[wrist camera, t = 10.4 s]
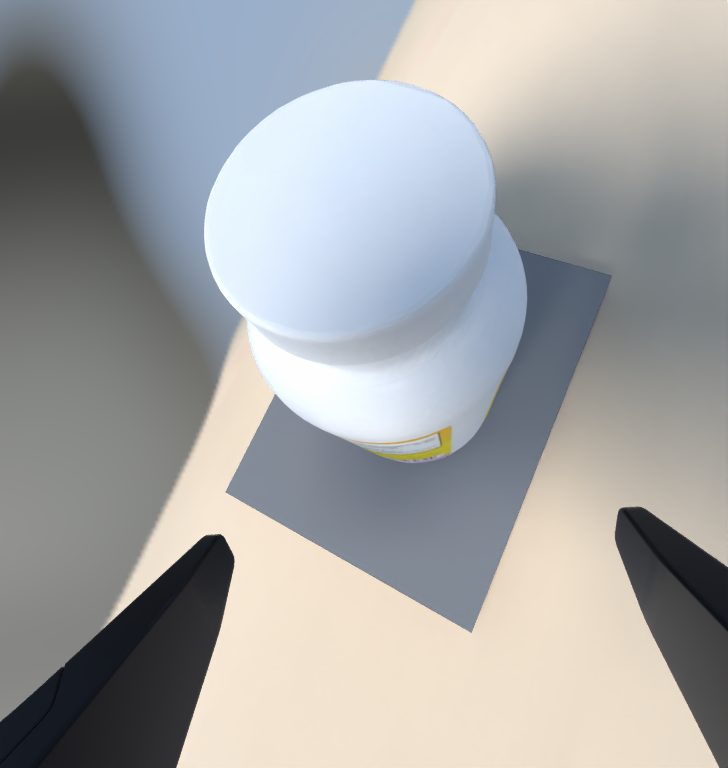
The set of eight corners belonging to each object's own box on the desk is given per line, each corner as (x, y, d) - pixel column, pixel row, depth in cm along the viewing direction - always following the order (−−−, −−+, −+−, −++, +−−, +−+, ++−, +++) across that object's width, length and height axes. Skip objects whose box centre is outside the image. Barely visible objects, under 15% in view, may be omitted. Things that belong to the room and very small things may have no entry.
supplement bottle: (424, 295, 19) (380, -34, 7) (523, 399, 17) (698, 182, 5) (315, 382, 19) (88, 201, 7) (401, 497, 17) (285, 513, 5)
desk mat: (470, 624, 16) (471, 632, 16) (236, 492, 20) (225, 492, 19) (603, 286, 19) (611, 275, 18) (373, 219, 22) (370, 207, 21)
